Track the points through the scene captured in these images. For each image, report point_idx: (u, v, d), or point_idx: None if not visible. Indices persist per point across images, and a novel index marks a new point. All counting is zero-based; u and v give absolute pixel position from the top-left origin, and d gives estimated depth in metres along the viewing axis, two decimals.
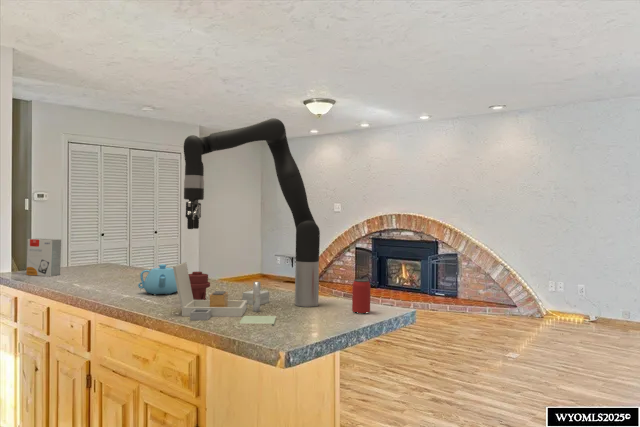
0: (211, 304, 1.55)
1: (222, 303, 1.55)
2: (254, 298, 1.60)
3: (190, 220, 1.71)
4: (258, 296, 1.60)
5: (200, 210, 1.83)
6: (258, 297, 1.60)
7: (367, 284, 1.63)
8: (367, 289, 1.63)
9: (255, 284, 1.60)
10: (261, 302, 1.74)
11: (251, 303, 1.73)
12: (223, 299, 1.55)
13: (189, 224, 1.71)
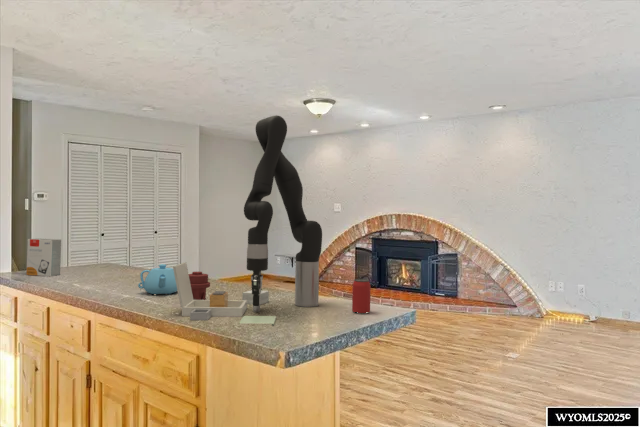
0: (211, 304, 1.55)
1: (222, 303, 1.55)
2: None
3: (256, 296, 1.59)
4: None
5: None
6: None
7: (367, 284, 1.63)
8: (367, 289, 1.63)
9: None
10: (261, 302, 1.74)
11: (251, 303, 1.74)
12: (223, 299, 1.55)
13: (255, 301, 1.58)
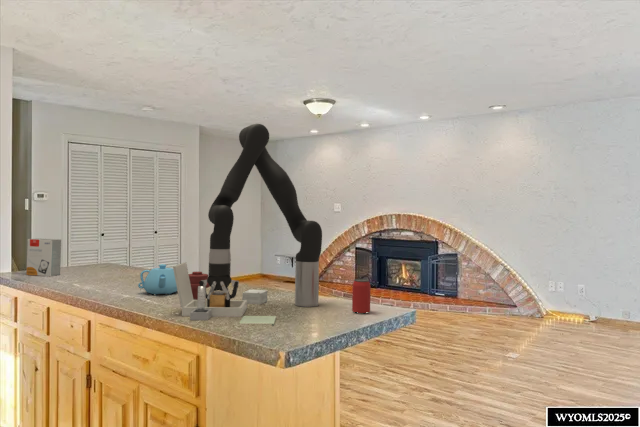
0: (211, 304, 1.55)
1: (222, 303, 1.55)
2: None
3: None
4: (198, 301, 1.48)
5: (234, 290, 1.58)
6: (198, 302, 1.48)
7: (367, 284, 1.63)
8: (367, 289, 1.63)
9: None
10: (262, 301, 1.76)
11: (252, 302, 1.74)
12: (223, 299, 1.55)
13: None
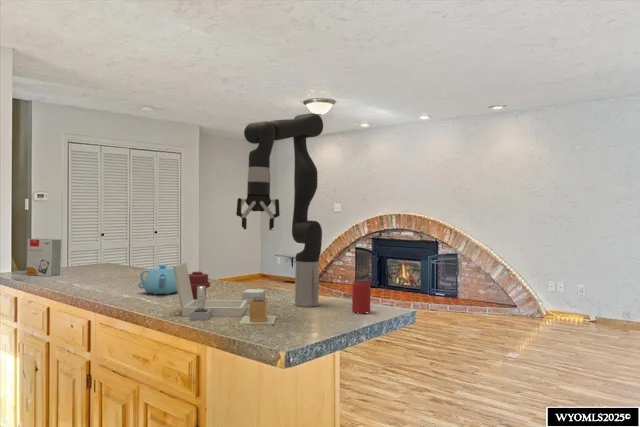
0: (251, 311, 1.44)
1: (263, 310, 1.45)
2: None
3: None
4: (197, 302, 1.48)
5: (277, 208, 1.50)
6: (197, 303, 1.48)
7: (367, 284, 1.63)
8: (367, 289, 1.63)
9: None
10: None
11: None
12: (264, 306, 1.45)
13: (242, 223, 1.51)
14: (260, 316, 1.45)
